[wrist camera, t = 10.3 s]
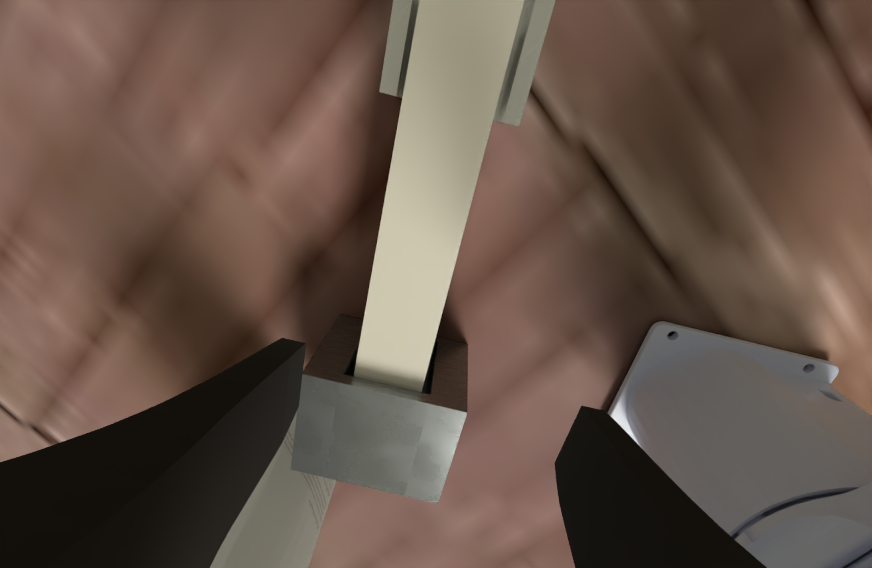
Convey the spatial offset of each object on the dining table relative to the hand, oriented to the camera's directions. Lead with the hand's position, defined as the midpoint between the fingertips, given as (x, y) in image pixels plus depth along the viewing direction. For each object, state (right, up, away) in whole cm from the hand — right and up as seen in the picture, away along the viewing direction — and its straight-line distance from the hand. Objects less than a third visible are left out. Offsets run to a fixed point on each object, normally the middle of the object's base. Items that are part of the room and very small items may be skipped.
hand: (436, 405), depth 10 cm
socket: (-2, -2, +12) cm, 13 cm away
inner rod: (0, +6, +9) cm, 11 cm away
